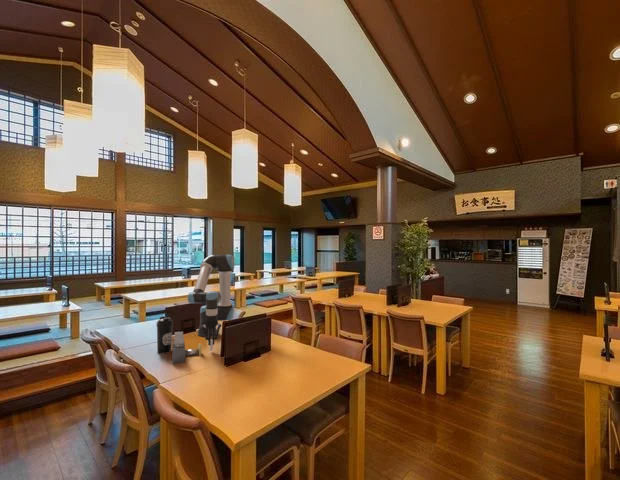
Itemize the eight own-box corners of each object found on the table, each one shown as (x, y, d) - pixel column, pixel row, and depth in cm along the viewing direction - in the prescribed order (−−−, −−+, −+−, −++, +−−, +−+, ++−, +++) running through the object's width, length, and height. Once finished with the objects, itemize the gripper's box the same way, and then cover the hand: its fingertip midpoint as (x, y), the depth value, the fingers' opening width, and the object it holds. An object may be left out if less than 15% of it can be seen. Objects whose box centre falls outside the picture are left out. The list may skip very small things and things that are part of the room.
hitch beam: (172, 352, 205) (172, 336, 205) (183, 351, 208) (183, 335, 208) (172, 364, 185) (172, 346, 185) (184, 362, 188) (185, 345, 188)
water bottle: (160, 355, 200) (161, 319, 200) (153, 351, 206) (153, 317, 206) (175, 351, 208) (176, 317, 208) (167, 347, 214) (168, 314, 214)
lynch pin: (200, 352, 206) (200, 343, 206) (201, 355, 200) (201, 346, 200) (183, 354, 202) (183, 345, 202) (184, 357, 195) (184, 348, 196)
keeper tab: (174, 345, 191) (174, 332, 191) (182, 344, 193) (183, 331, 193) (174, 346, 189) (174, 332, 190) (183, 345, 192) (183, 331, 192)
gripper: (220, 312, 212) (220, 346, 212) (201, 314, 207) (200, 349, 207) (222, 315, 205) (222, 350, 205) (202, 316, 200) (201, 352, 200)
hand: (211, 349), depth 206 cm, fingers closed
